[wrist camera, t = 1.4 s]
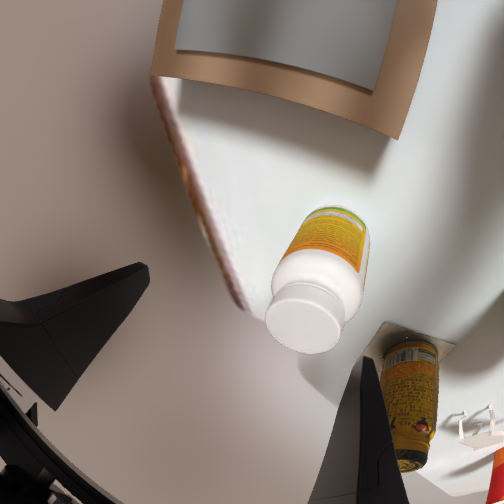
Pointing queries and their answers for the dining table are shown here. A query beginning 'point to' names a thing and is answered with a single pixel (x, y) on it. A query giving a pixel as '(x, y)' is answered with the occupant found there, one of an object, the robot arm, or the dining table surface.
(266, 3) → the framed mirror
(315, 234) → the supplement bottle
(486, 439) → the miniature table
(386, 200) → the dining table surface
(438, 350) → the condiment
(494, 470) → the paper cup
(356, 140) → the dining table surface
